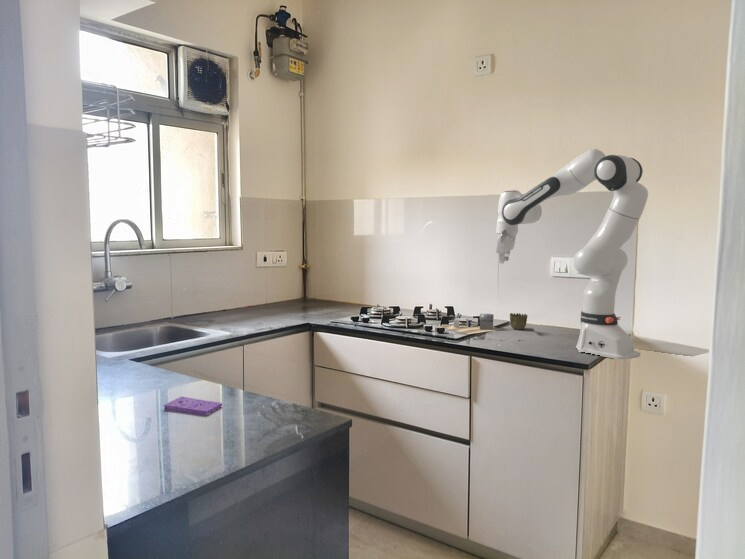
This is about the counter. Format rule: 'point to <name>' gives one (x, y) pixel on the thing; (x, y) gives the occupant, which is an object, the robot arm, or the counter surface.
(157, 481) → the counter surface
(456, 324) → the shaft
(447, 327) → the board
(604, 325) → the robot arm
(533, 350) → the counter surface
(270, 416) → the counter surface
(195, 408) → the sponges
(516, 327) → the cup
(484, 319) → the grey cube
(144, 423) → the counter surface
